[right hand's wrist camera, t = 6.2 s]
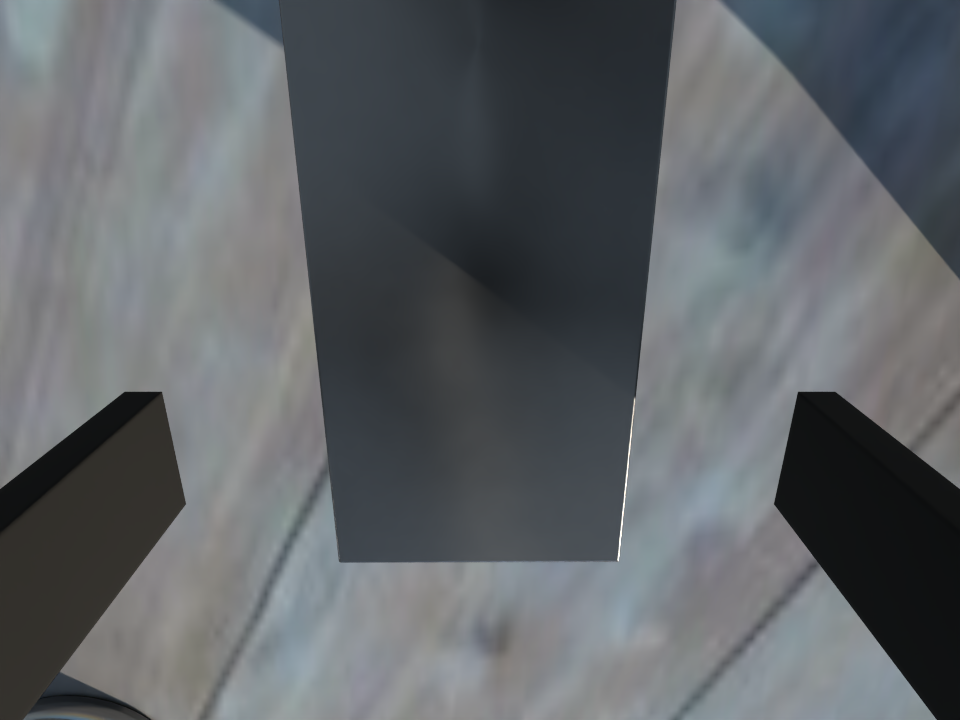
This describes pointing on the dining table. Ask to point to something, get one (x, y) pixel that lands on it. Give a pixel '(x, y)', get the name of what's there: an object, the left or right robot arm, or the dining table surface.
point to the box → (478, 264)
